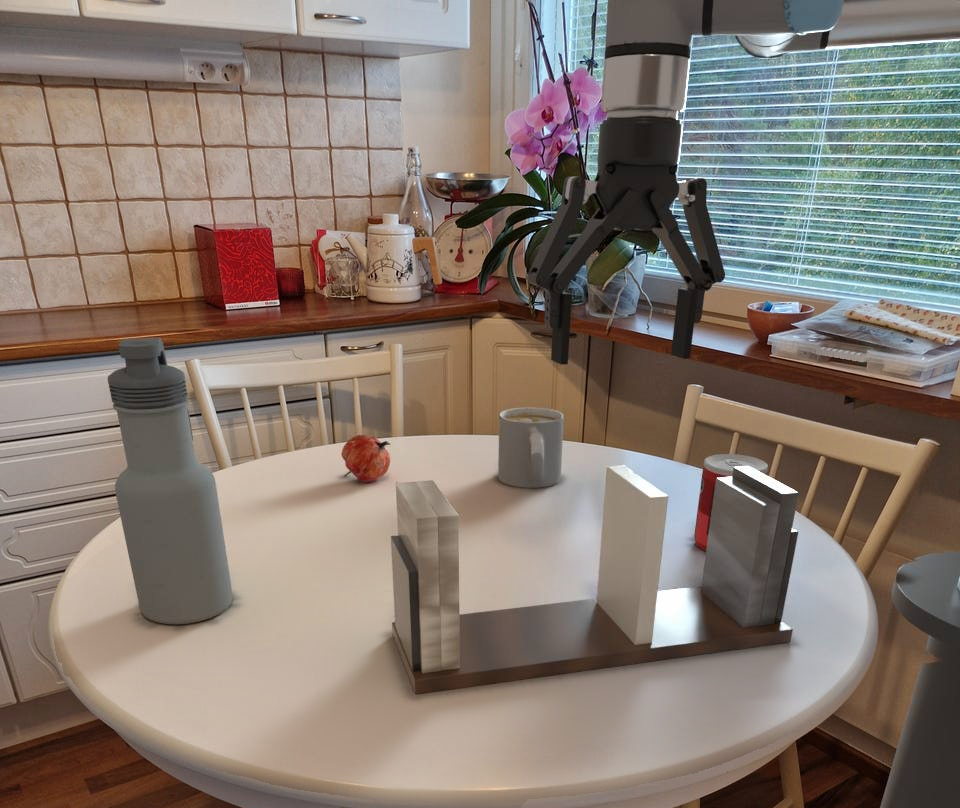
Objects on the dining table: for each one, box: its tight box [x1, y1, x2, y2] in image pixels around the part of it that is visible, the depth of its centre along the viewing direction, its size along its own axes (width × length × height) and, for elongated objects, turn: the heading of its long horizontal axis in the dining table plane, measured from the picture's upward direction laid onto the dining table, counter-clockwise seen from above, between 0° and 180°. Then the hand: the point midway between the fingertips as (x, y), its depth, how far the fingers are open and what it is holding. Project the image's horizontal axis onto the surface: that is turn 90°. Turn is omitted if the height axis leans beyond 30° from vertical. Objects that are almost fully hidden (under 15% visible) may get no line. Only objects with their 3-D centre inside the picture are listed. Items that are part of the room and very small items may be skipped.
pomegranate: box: [340, 434, 391, 483], centre depth 132 cm, size 7×7×10 cm
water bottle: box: [107, 337, 234, 625], centre depth 87 cm, size 10×10×28 cm
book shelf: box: [390, 466, 799, 695], centre depth 83 cm, size 39×12×16 cm, turn 105°
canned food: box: [693, 453, 769, 552], centre depth 107 cm, size 8×8×11 cm
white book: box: [596, 464, 669, 645], centre depth 83 cm, size 2×10×15 cm, turn 15°
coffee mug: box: [497, 407, 565, 489], centre depth 131 cm, size 13×10×10 cm
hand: (620, 359), depth 87 cm, fingers open, 13 cm apart
